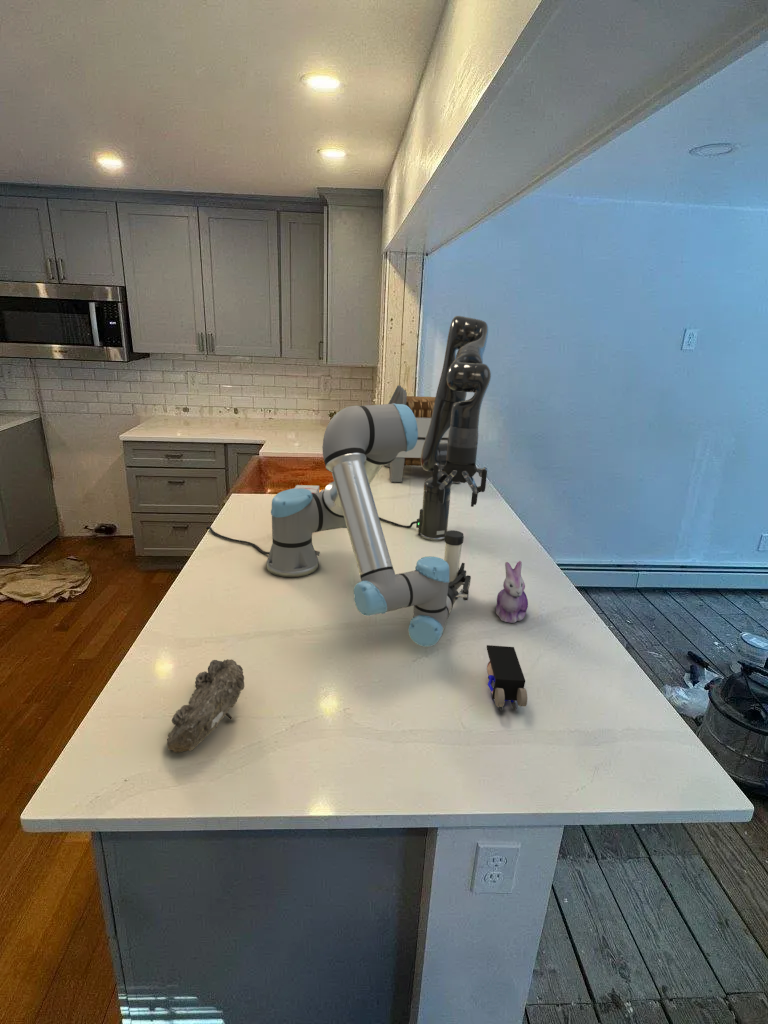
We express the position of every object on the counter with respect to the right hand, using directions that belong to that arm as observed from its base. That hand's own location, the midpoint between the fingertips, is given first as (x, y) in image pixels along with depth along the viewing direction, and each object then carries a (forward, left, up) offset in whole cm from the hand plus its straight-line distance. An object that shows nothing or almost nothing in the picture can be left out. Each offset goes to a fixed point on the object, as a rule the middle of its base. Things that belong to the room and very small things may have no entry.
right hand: (457, 504), depth 150 cm
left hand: (-2, +5, -20) cm, 21 cm away
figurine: (+18, 0, -27) cm, 33 cm away
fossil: (-11, -73, -27) cm, 78 cm away
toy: (-72, +18, -27) cm, 79 cm away
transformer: (-72, +100, -27) cm, 126 cm away
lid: (0, 0, -9) cm, 9 cm away
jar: (0, 0, -27) cm, 27 cm away
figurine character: (+30, -32, -27) cm, 51 cm away
